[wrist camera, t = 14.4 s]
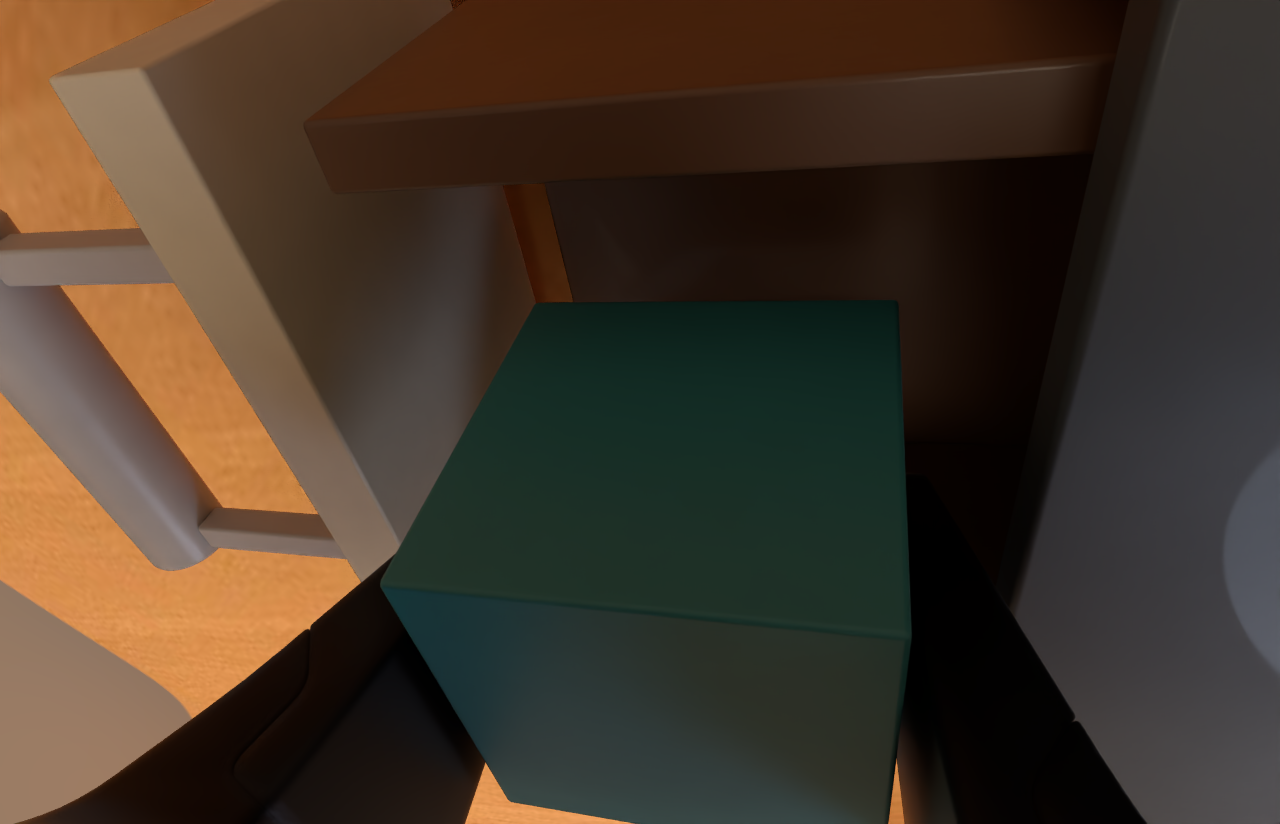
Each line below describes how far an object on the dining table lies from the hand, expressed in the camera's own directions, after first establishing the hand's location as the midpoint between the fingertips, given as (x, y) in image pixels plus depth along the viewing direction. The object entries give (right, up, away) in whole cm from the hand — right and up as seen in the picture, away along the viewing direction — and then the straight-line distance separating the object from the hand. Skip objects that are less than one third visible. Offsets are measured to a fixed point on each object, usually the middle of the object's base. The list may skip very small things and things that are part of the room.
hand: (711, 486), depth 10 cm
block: (0, +1, +1) cm, 1 cm away
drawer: (-1, +4, +5) cm, 7 cm away
